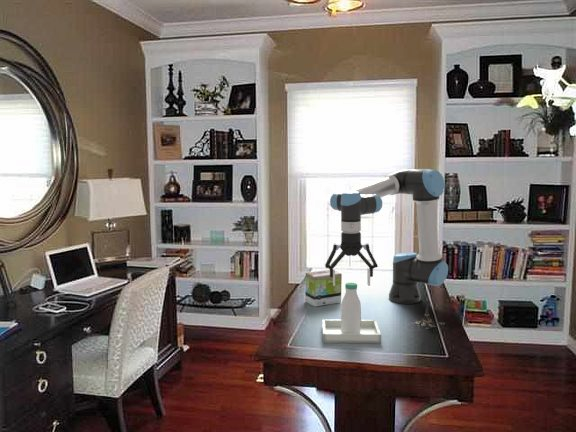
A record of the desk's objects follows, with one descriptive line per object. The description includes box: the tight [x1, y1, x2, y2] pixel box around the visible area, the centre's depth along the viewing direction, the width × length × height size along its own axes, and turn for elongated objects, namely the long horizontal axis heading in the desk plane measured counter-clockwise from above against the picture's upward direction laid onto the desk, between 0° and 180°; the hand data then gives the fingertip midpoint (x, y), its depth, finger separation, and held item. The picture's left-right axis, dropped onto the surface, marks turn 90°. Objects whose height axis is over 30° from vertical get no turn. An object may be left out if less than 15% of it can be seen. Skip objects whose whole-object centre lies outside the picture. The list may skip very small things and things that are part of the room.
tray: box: [321, 318, 382, 344], centre depth 189 cm, size 22×16×4 cm
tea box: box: [304, 269, 343, 308], centre depth 231 cm, size 15×10×15 cm, turn 117°
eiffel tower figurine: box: [408, 295, 446, 330], centre depth 198 cm, size 15×10×13 cm
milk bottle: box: [340, 282, 362, 333], centre depth 188 cm, size 8×8×20 cm
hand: (351, 285), depth 187 cm, fingers open, 13 cm apart
